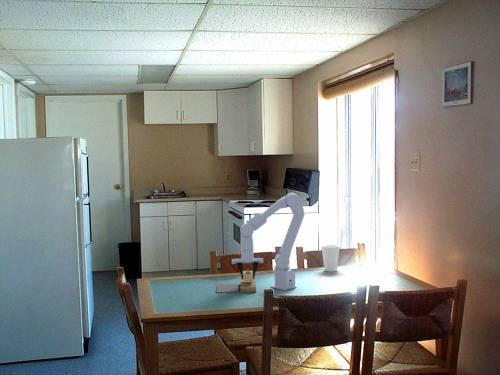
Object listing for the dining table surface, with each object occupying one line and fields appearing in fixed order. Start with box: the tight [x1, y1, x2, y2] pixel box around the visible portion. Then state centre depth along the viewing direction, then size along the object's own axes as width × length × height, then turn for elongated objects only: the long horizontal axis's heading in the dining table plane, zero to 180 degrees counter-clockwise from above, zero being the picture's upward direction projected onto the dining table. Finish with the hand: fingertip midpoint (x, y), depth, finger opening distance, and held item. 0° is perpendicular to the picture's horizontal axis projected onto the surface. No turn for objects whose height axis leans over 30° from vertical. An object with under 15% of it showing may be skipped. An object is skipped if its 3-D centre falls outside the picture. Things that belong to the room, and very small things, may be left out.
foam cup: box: [320, 243, 341, 272], centre depth 309 cm, size 10×9×13 cm
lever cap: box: [243, 270, 253, 282], centre depth 272 cm, size 7×4×4 cm, turn 1°
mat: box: [215, 283, 240, 294], centre depth 272 cm, size 16×10×1 cm, turn 1°
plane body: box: [239, 278, 257, 294], centre depth 272 cm, size 18×7×2 cm, turn 1°
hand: (248, 278), depth 272 cm, fingers closed on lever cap, 4 cm apart
